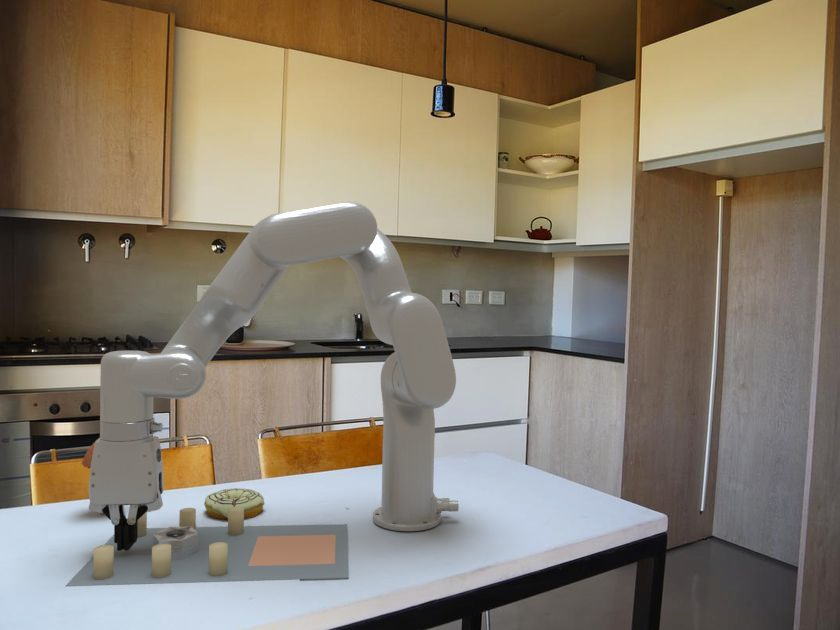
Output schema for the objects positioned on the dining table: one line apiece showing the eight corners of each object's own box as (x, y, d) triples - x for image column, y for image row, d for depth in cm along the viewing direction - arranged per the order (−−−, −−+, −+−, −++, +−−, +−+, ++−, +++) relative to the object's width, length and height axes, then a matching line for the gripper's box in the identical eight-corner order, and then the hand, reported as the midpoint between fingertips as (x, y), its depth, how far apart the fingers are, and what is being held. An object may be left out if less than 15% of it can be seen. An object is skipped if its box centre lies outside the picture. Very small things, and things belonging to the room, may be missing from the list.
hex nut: (202, 544, 105) (202, 525, 105) (193, 559, 99) (194, 539, 99) (157, 545, 104) (158, 526, 104) (146, 560, 98) (146, 540, 98)
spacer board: (347, 525, 116) (347, 502, 116) (348, 578, 94) (348, 550, 94) (119, 529, 111) (119, 505, 111) (65, 587, 89) (65, 557, 89)
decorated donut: (230, 527, 114) (230, 506, 114) (192, 514, 120) (192, 494, 120) (274, 512, 122) (275, 492, 122) (237, 500, 129) (238, 481, 128)
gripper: (182, 425, 105) (181, 537, 105) (85, 425, 103) (84, 539, 104) (170, 435, 97) (169, 555, 98) (65, 436, 96) (65, 558, 96)
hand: (125, 546), depth 101 cm, fingers closed
